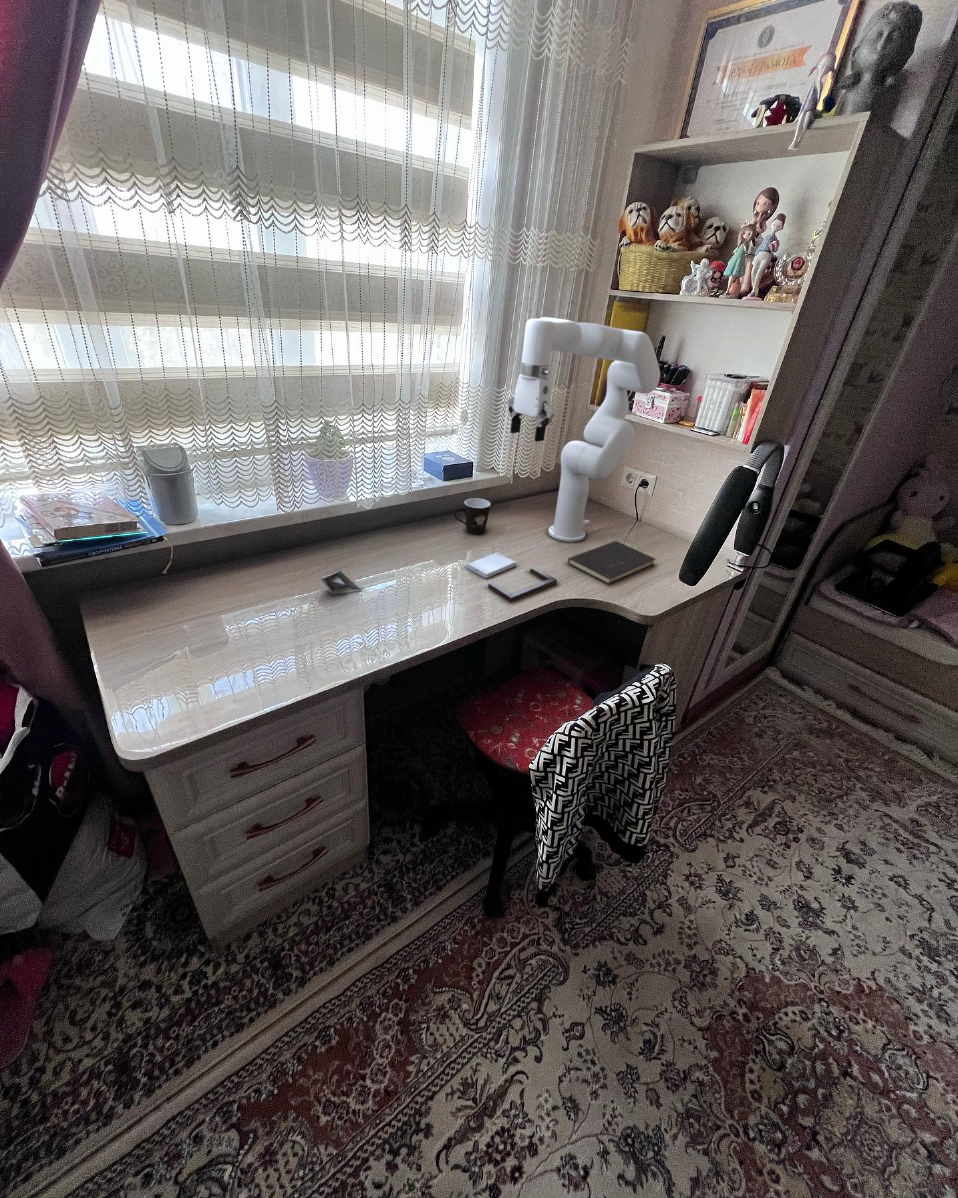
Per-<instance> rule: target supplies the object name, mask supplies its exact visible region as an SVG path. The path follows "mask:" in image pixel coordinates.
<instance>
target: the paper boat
mask: <svg viewBox="0 0 958 1198" xmlns="http://www.w3.org/2000/svg"><path fill="white" fill-rule="evenodd" d="M320 580H321V582H323V584H324V585H325V586H326V587H327V589H328V590H329V591H330V593H331V594H332V595H339V594H346V593H352V592H360V591H362V589H361V588H360V587H359V586H358V585H356V583H354V582H353V581H352V580H351V579H350V578H349V577H348V576H347V575H346V574H345V573H343V572H342V571H341V570H339V571H336V572H332V573H330V574H327V575H324V576H323V577H322V576H321V577H320Z"/></svg>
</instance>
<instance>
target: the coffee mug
mask: <svg viewBox="0 0 958 1198" xmlns="http://www.w3.org/2000/svg"><path fill="white" fill-rule="evenodd" d="M491 504H492V503H491V501H489V500H487V499H484V498H478V497H477V498H476V497H475V498H468V499H466V500H464V507H456V509H454V511H453V516H454V518H455V519H456V520H457V521H459V522H461V524H464V525H465V529H466V533H468V534H470V535H473V536H481V535H483V534H485V533H486V530H487V529H486V528H487V524H488V521H489V520H488V519H489V515H490V510H491ZM459 510H461V511H463V513H464V515H465V521H464V520H462V519H460V518H458V517H457V515H456V513H457V511H459Z"/></svg>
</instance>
